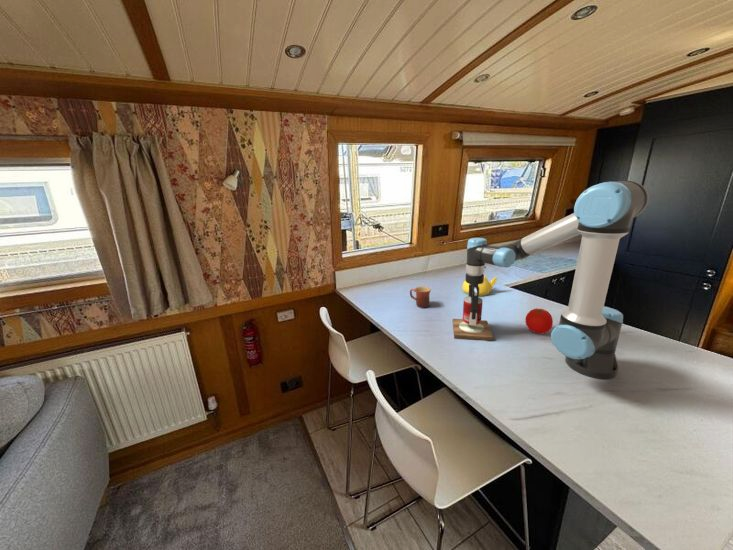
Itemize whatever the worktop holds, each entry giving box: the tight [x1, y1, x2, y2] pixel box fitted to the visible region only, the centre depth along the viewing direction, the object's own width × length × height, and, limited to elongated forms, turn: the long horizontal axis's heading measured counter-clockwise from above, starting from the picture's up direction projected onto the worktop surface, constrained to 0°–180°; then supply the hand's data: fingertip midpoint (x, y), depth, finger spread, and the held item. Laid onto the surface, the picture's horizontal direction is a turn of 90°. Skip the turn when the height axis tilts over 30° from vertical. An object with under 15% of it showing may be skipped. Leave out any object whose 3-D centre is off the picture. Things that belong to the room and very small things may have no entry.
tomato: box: [525, 307, 554, 334], centre depth 128 cm, size 10×11×11 cm
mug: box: [409, 286, 432, 309], centre depth 162 cm, size 12×9×10 cm
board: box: [452, 318, 494, 342], centre depth 133 cm, size 16×16×2 cm
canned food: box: [462, 295, 484, 324], centre depth 130 cm, size 8×8×11 cm
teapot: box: [461, 275, 498, 297], centre depth 178 cm, size 20×19×13 cm
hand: (471, 320), depth 132 cm, fingers closed on canned food, 8 cm apart
